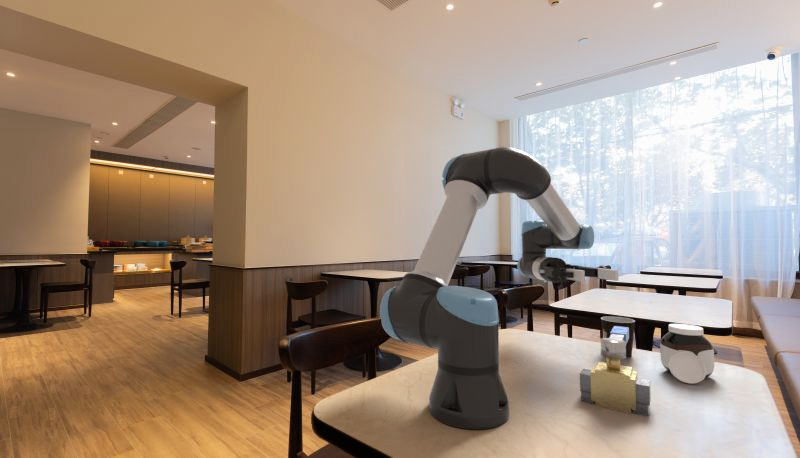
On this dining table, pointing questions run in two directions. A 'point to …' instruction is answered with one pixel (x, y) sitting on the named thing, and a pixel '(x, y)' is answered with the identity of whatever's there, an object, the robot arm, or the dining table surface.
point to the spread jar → (687, 353)
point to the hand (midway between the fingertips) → (600, 275)
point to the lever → (615, 343)
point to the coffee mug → (622, 322)
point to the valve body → (615, 387)
